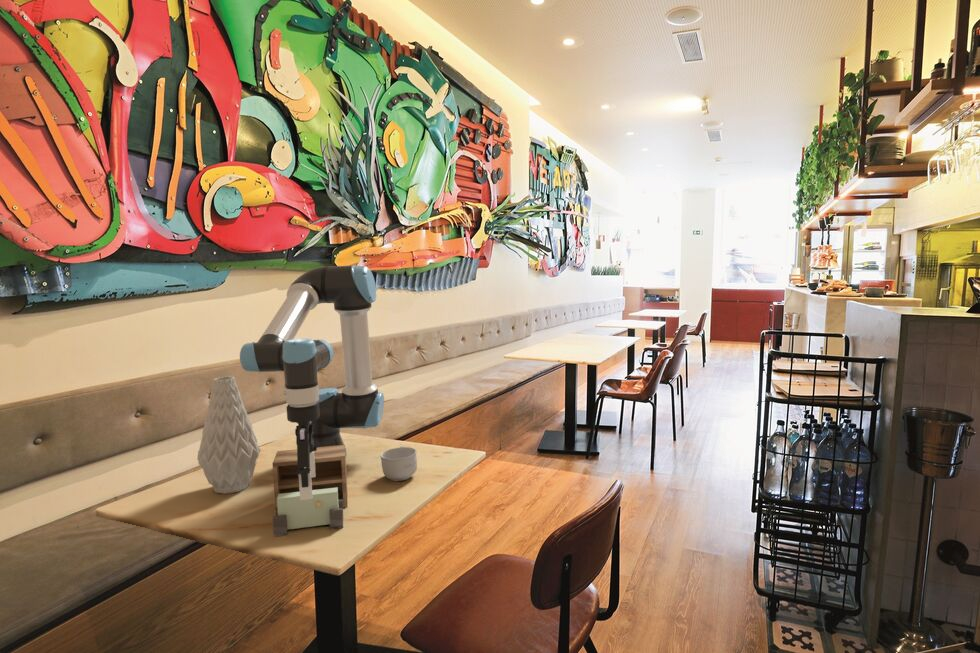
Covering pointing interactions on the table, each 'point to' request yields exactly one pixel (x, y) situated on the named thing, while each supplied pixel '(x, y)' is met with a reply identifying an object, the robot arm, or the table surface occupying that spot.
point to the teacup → (399, 463)
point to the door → (308, 508)
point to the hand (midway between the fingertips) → (308, 487)
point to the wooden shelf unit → (327, 476)
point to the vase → (227, 439)
